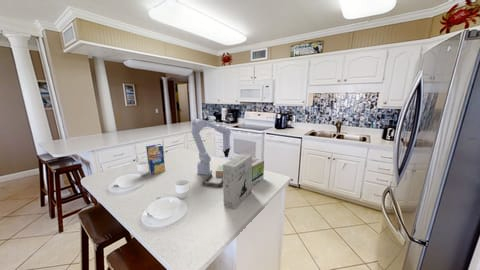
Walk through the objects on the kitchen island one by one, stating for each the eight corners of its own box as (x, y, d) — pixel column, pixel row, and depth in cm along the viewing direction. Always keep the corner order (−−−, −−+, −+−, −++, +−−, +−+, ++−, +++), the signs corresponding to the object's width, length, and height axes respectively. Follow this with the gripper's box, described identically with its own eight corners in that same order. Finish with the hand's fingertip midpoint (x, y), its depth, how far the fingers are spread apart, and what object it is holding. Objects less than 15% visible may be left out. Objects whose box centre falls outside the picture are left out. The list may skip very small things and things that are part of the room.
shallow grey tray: (202, 185, 124) (202, 182, 123) (210, 176, 138) (210, 173, 138) (220, 187, 121) (220, 184, 121) (227, 177, 136) (227, 174, 135)
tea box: (253, 186, 123) (253, 166, 120) (241, 182, 129) (241, 163, 126) (263, 178, 135) (264, 160, 131) (252, 175, 141) (253, 157, 137)
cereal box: (234, 209, 98) (234, 167, 93) (223, 205, 102) (222, 164, 96) (251, 191, 116) (252, 155, 111) (241, 188, 120) (241, 153, 115)
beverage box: (165, 170, 148) (162, 145, 143) (151, 174, 141) (147, 148, 137) (162, 168, 153) (160, 143, 149) (148, 171, 147) (145, 146, 142)
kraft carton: (215, 176, 138) (215, 170, 137) (217, 170, 150) (217, 164, 149) (225, 177, 138) (225, 171, 137) (227, 170, 150) (227, 165, 148)
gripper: (228, 144, 144) (228, 160, 147) (233, 140, 158) (233, 154, 161) (220, 143, 145) (220, 159, 148) (225, 139, 159) (225, 153, 162)
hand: (226, 156), depth 154 cm, fingers closed
